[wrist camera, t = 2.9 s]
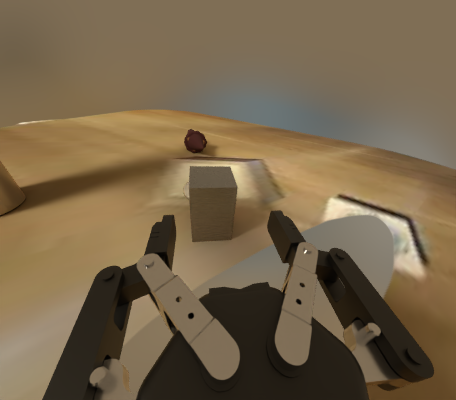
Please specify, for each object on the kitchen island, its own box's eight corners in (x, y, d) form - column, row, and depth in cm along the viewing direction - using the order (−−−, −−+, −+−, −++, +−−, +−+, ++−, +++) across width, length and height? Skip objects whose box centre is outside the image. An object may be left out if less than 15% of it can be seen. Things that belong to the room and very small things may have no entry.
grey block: (192, 242, 28) (188, 188, 22) (192, 216, 33) (190, 166, 27) (231, 239, 29) (237, 187, 23) (225, 214, 34) (230, 166, 28)
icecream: (217, 138, 52) (200, 129, 63) (192, 132, 48) (180, 124, 59) (211, 161, 54) (197, 148, 66) (188, 157, 51) (177, 145, 62)
